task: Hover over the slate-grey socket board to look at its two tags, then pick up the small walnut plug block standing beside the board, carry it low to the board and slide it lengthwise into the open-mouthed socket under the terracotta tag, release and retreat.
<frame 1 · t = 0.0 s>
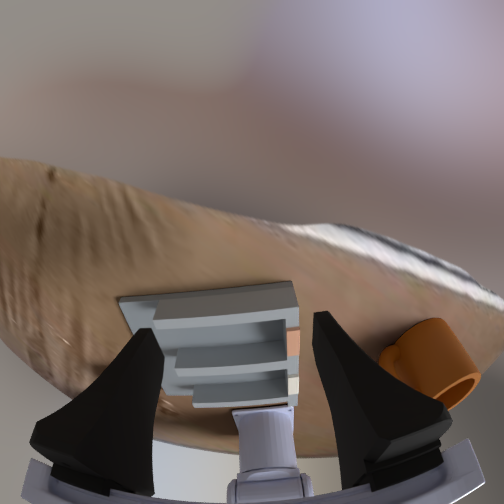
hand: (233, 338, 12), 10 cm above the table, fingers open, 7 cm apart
mug: (410, 342, 29), on the table
socket board: (216, 349, 27), on the table
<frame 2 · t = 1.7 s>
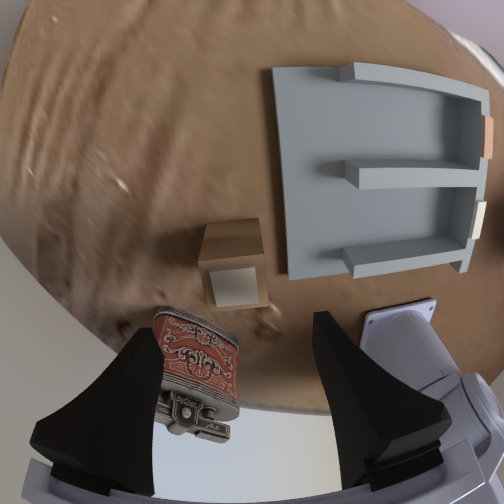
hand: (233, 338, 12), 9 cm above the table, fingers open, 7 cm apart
plug: (235, 243, 20), on the table
lighter: (197, 329, 24), on the table
socket board: (385, 174, 18), on the table
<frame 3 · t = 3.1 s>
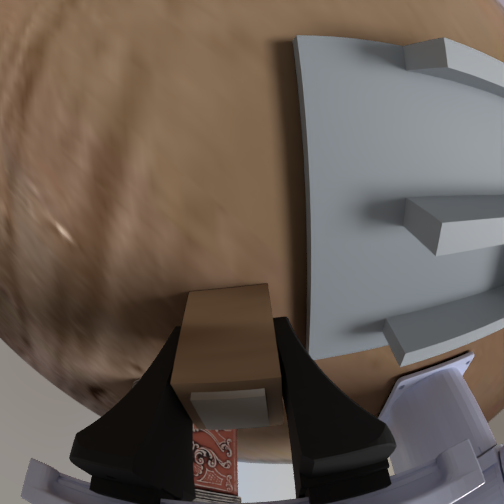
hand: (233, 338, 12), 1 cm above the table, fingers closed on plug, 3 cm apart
plug: (233, 317, 13), on the table, touching gripper
lighter: (187, 401, 17), on the table
socket board: (451, 214, 11), on the table
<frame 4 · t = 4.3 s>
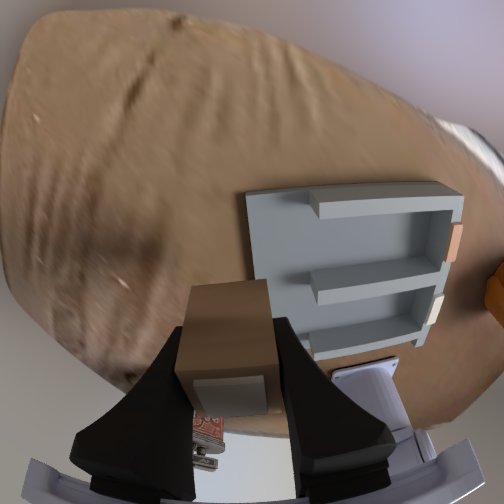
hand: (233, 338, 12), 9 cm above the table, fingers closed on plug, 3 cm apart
plug: (233, 311, 14), point 7 cm above the table, touching gripper
lighter: (192, 381, 28), on the table
mug: (501, 277, 23), on the table
socket board: (350, 273, 21), on the table
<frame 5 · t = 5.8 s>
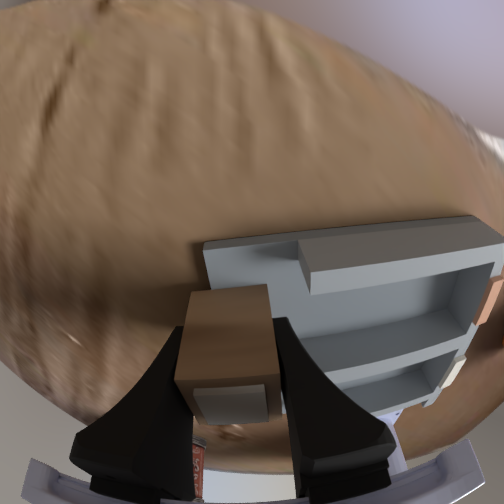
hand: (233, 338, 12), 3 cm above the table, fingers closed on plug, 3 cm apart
plug: (234, 316, 14), point 1 cm above the table, touching gripper
lighter: (168, 431, 22), on the table
socket board: (352, 334, 16), on the table
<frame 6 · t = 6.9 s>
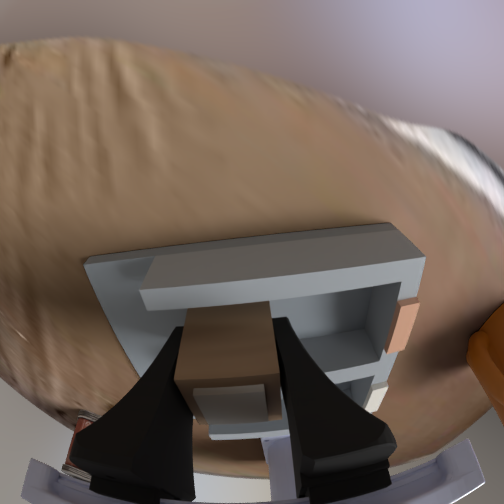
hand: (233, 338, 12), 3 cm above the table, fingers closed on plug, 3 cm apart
plug: (233, 316, 14), point 1 cm above the table, touching gripper
lighter: (114, 425, 22), on the table
mug: (491, 327, 18), on the table
socket board: (251, 349, 16), on the table
when the fingers open (3 cm above the table, at t = 7.9 s): plug stays where it is, resting on socket board.
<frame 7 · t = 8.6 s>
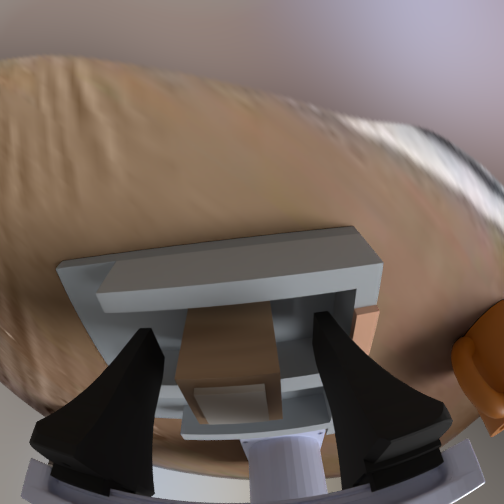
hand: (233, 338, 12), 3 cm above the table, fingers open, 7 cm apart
plug: (234, 316, 14), point 1 cm above the table, touching socket board
mug: (479, 332, 18), on the table
socket board: (218, 352, 16), on the table
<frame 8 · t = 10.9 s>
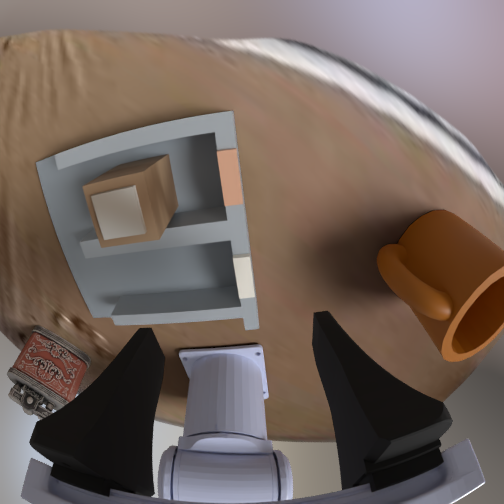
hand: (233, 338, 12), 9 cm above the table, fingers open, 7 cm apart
plug: (148, 184, 17), point 1 cm above the table, touching socket board
lighter: (62, 344, 26), on the table
mug: (419, 248, 22), on the table
socket board: (143, 230, 19), on the table
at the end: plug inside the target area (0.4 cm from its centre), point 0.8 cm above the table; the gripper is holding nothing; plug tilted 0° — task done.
